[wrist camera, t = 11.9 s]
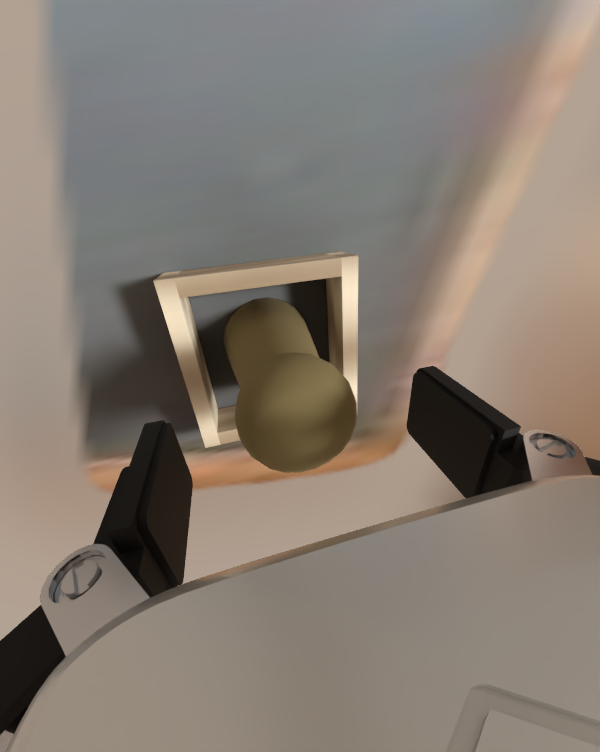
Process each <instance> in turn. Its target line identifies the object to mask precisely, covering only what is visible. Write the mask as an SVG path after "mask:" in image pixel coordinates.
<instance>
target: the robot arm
mask: <svg viewBox="0 0 600 752" xmlns="http://www.w3.org/2000/svg"><path fill="white" fill-rule="evenodd" d="M520 428H521V426H519V425H518V424H516V423H515V422H514V421H512V420H511V419H509V418H508V417H506V416H505V415H504V414H502V413H500V412H499V411H498V410H496V409H495V408H494V407H492V406H491V405H489V404H488V403H486V402H485V401H484V400H482V399H481V398H479V397H478V396H476V395H475V394H473V393H472V392H471V391H469V390H467V389H466V388H465V387H463V386H462V385H460V384H459V383H458V382H456V381H455V380H453V379H452V378H451V377H449V376H448V375H446V374H445V373H443V372H442V371H441V370H439V369H438V368H436V367H434V366H430V367H425V368H420V369H418V370H417V373H415V374H414V376H413V383H412V390H411V398H410V405H409V413H408V420H407V430H408V432H409V434H410V435H411V436H412V437H413V439H414V440H415V441H416V442H417V443H418V444H419V445H420V447H421V448H422V449H423V450H424V451H425V452H426V453H427V454H428V456H429V457H430V458H431V459H432V460H433V461H434V462H435V464H436V465H437V466H438V467H439V468H440V469H441V470H442V472H443V473H444V474H445V475H446V476H447V477H448V479H449V480H450V481H451V482H452V483H453V484H454V485H455V487H456V488H457V489H458V490H459V491H460V492H461V493H462V494H463V496H464V497H465V498H467V499H463V500H460V501H457V502H453V503H449V504H446V505H442V506H439V507H435V508H432V509H428V510H425V511H421V512H418V513H414V514H411V515H408V516H404V517H401V518H397V519H394V520H390V521H387V522H384V523H380V524H377V525H373V526H370V527H367V528H363V529H360V530H356V531H353V532H350V533H346V534H343V535H339V536H336V537H333V538H329V539H326V540H323V541H319V542H316V543H313V544H309V545H306V546H302V547H299V548H296V549H293V550H289V551H286V552H282V553H279V554H276V555H272V556H269V557H266V558H262V559H259V560H256V561H252V562H249V563H246V564H243V565H240V566H237V567H234V568H231V569H228V570H224V571H221V572H218V573H215V574H212V575H208V576H206V577H202V578H200V579H197V580H193V581H191V582H188V583H185V584H183V585H181V584H182V583H183V578H184V568H185V558H186V547H187V537H188V528H189V517H190V507H191V496H192V486H193V484H192V477H191V474H190V472H189V469H188V466H187V464H186V461H185V459H184V456H183V453H182V451H181V448H180V445H179V443H178V440H177V438H176V435H175V432H174V430H173V427H172V425H171V424H170V423H167V424H166V423H165V422H164V421H163V420H161V421H156V422H151V423H146V424H145V425H144V427H143V430H142V432H141V435H140V438H139V441H138V444H137V446H136V449H135V452H134V455H133V458H132V460H131V463H130V466H129V467H125V468H124V469H123V470H122V471H121V473H120V476H119V479H118V481H117V484H116V486H115V489H114V492H113V494H112V497H111V499H110V502H109V505H108V507H107V510H106V513H105V515H104V518H103V520H102V523H101V526H100V528H99V531H98V533H97V536H96V539H95V541H94V544H93V545H88V546H85V547H83V548H81V549H79V550H77V551H75V552H74V553H72V554H70V555H69V556H67V557H66V558H65V559H64V560H63V561H62V562H61V563H59V564H58V565H57V566H56V568H55V569H54V570H53V571H52V572H51V573H50V575H49V576H48V578H47V579H46V581H45V583H44V585H43V587H42V590H41V594H40V601H41V605H40V606H39V607H38V608H37V609H36V610H35V611H34V612H32V613H31V614H30V615H29V616H28V617H27V618H26V619H25V620H23V621H22V622H21V623H20V624H19V625H18V626H17V627H16V628H14V629H13V630H12V631H11V632H10V633H9V634H8V635H7V636H5V637H4V638H3V639H2V640H1V641H0V752H600V461H598V460H595V459H591V458H587V457H584V455H583V452H582V451H581V449H580V448H579V446H577V445H576V444H575V443H574V442H573V441H571V440H570V439H568V438H566V437H564V436H562V435H559V434H557V433H554V432H550V431H545V430H544V431H543V430H531V431H529V432H526V434H524V436H523V435H521V434H520V433H519V430H520ZM178 585H180V586H178Z"/></svg>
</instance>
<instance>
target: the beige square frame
mask: <svg viewBox="0 0 600 752" xmlns="http://www.w3.org/2000/svg"><path fill="white" fill-rule="evenodd" d="M325 278H326V288H327V311H328V335H329V359H330V363H331V364H333V365H334V366H335V367H336V368H337V369H338V370H339V372H340V373H341V374H342V375H343V376H344V377H345V378H346V379H347V380H348V382H349V384H350V386H351V389H352V391H353V394H354V396H355V400H356V403H357V355H358V255H353V254H348V253H343V252H334V253H325V254H317V255H308V256H300V257H292V258H283V259H275V260H267V261H258V262H250V263H242V264H233V265H225V266H216V267H208V268H200V269H191V270H183V271H175V272H166V273H163V274H161V275H160V276H159V277H158V278H156V279H155V280H154V281H153V282H154V285H155V288H156V291H157V294H158V297H159V301H160V304H161V307H162V310H163V313H164V317H165V320H166V323H167V326H168V329H169V333H170V336H171V339H172V342H173V345H174V348H175V352H176V355H177V358H178V361H179V364H180V368H181V371H182V374H183V377H184V380H185V384H186V387H187V390H188V393H189V396H190V400H191V403H192V406H193V409H194V412H195V415H196V419H197V422H198V425H199V428H200V431H201V435H202V438H203V441H204V444H205V447H206V448H207V447H211V446H216V445H220V444H225V443H230V442H234V441H239V440H240V438H239V435H238V431H237V427H236V423H235V409H236V405H235V406H230V407H225V408H220V409H218V407H217V404H216V400H215V396H214V392H213V389H212V385H211V381H210V377H209V373H208V370H207V366H206V362H205V358H204V355H203V351H202V347H201V343H200V340H199V336H198V332H197V328H196V325H195V321H194V317H193V313H192V309H191V306H190V302H189V298H188V297H191V296H198V295H206V294H213V293H221V292H228V291H236V290H243V289H251V288H258V287H265V286H273V285H280V284H288V283H295V282H303V281H310V280H317V279H325Z"/></svg>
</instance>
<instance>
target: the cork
mask: <svg viewBox="0 0 600 752" xmlns="http://www.w3.org/2000/svg"><path fill="white" fill-rule="evenodd" d="M223 342H224V346H225V351H226V355H227V357H228V360H229V362H230V365H231V367H232V369H233V372H234V374H235V377H236V379H237V382H238V384H239V387H240V389H241V390H240V392H239V394H238V396H237V402H236V409H235V423H236V427H237V431H238V435H239V438H240V440H241V442H242V444H243V445H244V447H245V448H246V450H247V451H248V452H249V454H250V455H251V456H252V457H253V458H254V459H256V460H258V461H259V462H261V463H262V464H264V465H265V466H267V467H268V468H270V469H273V470H277V471H281V472H304V471H308V470H312V469H316V468H318V467H319V466H321V465H323V464H325V463H327V462H329V461H331V460H332V459H333V458H334V457H335V456H337V455H338V454H339V453H340V452H341V451H342V450H343V449H344V447H345V446H346V444H347V443H348V442H349V440H350V439H351V436H352V433H353V430H354V427H355V424H356V419H357V403H356V400H355V396H354V394H353V391H352V389H351V386H350V384H349V382H348V380H347V379H346V378H345V377H344V376H343V375H342V374H341V373H340V372H339V370H338V369H337V368H336V367H335V366H334V365H333V364H331V363H329V362H327V361H325V360H323V359H321V358H319V355H318V353H317V350H316V348H315V345H314V343H313V340H312V338H311V335H310V333H309V330H308V328H307V325H306V323H305V321H304V318H303V316H302V315H301V314H300V313H299V312H298V311H297V310H296V308H295V307H294V306H292V305H290V304H288V303H286V302H285V301H283V300H279V299H273V298H262V299H255V300H252V301H250V302H248V303H246V304H244V305H242V306H241V307H240V308H239V309H238V310H237V311H236V312H235V313H234V314H233V315H232V316H231V317H230V319H229V321H228V323H227V325H226V327H225V333H224V341H223Z"/></svg>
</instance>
